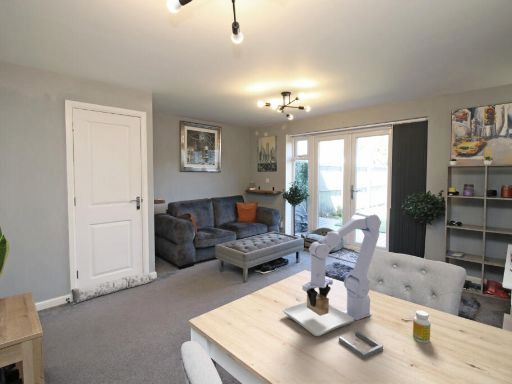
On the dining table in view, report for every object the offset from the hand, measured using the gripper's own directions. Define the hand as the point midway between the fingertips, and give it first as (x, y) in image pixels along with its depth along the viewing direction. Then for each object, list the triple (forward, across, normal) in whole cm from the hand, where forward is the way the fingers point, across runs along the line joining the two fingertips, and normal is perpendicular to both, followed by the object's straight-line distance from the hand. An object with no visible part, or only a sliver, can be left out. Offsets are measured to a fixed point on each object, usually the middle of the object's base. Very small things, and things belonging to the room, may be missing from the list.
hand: (317, 304), depth 113 cm
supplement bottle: (+7, +25, -28) cm, 38 cm away
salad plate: (+8, 0, 0) cm, 8 cm away
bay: (+7, +2, -19) cm, 20 cm away
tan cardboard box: (+2, 0, 0) cm, 2 cm away
